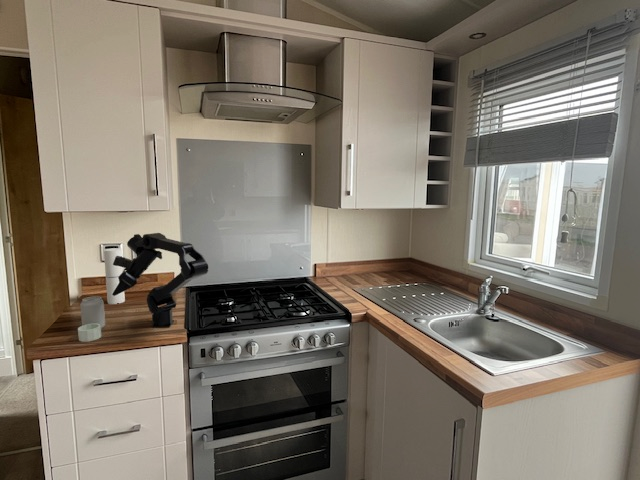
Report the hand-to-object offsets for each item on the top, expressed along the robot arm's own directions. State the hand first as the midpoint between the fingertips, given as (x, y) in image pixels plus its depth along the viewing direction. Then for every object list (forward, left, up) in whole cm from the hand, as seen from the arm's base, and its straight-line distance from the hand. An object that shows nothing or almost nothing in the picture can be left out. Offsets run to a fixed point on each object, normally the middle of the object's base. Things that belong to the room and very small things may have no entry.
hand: (114, 292), depth 140 cm
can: (+8, +2, -14) cm, 16 cm away
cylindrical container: (+14, -31, -14) cm, 37 cm away
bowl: (+5, +11, -14) cm, 18 cm away
